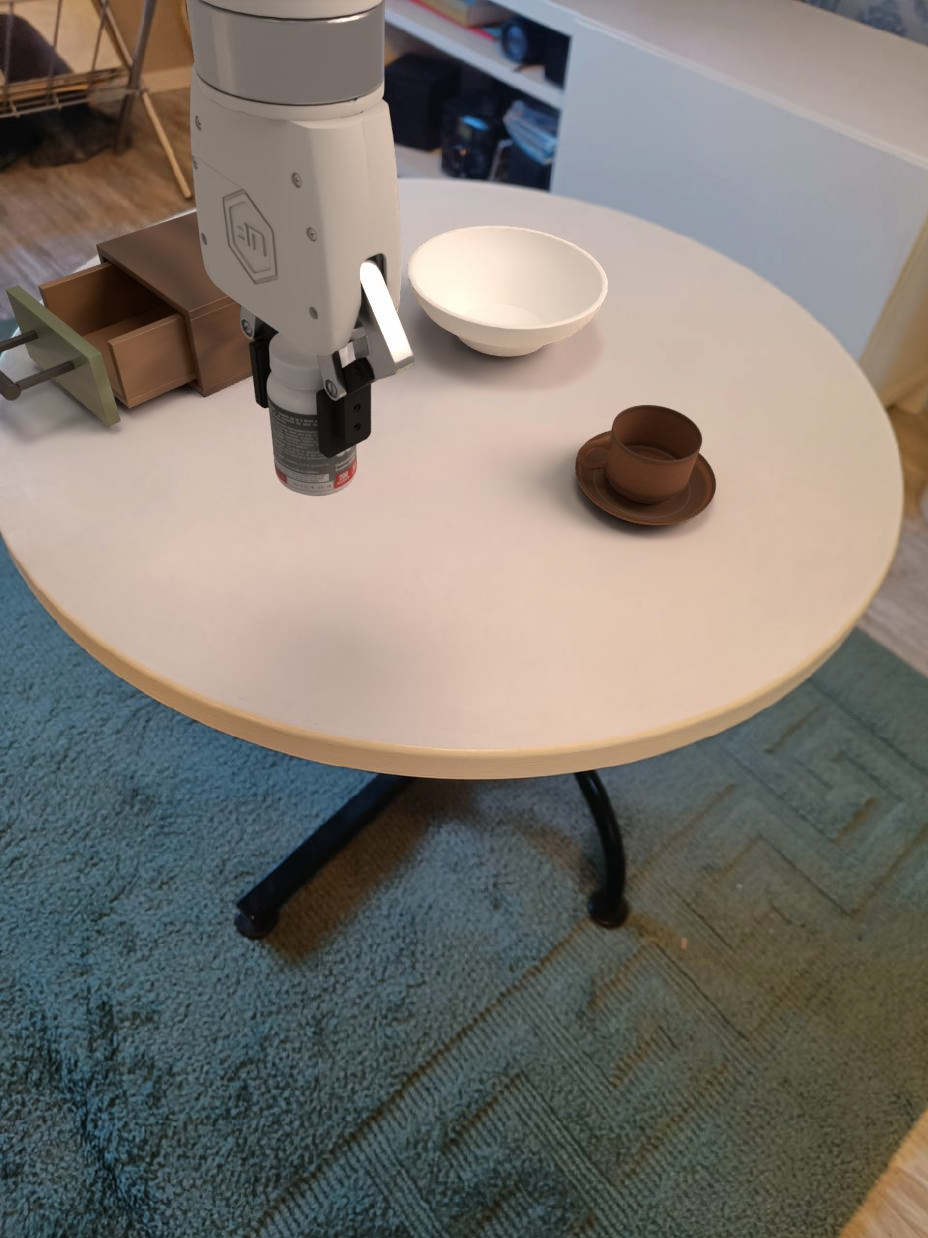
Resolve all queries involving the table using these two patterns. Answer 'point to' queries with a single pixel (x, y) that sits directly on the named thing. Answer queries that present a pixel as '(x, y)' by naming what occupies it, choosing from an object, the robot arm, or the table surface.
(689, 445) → the cup and saucer
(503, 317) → the bowl
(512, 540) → the table surface
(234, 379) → the cabinet
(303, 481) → the pill bottle
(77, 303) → the drawer
